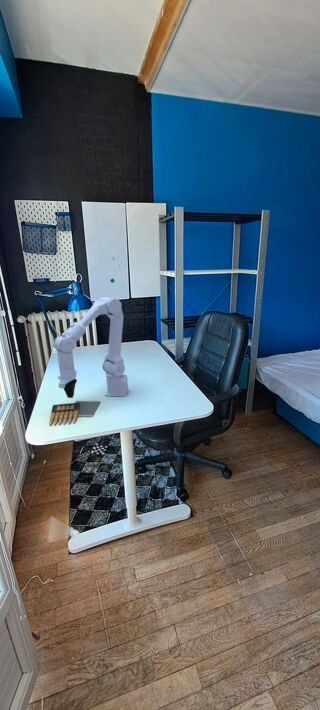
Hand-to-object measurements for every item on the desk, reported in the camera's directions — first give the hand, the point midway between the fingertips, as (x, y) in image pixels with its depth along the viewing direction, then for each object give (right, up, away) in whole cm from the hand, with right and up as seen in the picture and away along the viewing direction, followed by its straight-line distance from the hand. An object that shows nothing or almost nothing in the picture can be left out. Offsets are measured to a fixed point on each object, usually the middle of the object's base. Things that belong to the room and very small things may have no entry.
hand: (70, 397), depth 122 cm
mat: (+5, -5, +1) cm, 7 cm away
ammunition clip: (-2, -3, 0) cm, 4 cm away
